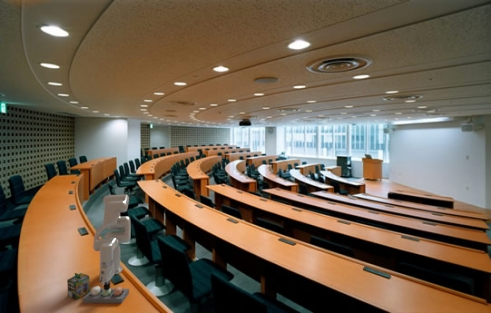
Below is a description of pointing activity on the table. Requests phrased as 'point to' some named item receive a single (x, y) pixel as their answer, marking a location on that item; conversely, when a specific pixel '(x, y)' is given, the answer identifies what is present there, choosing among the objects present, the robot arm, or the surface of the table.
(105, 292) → the pale green rounded piece
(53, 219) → the table surface
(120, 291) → the pink rounded dome
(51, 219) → the table surface
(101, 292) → the button board
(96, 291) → the white rounded piece
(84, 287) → the chalk box
